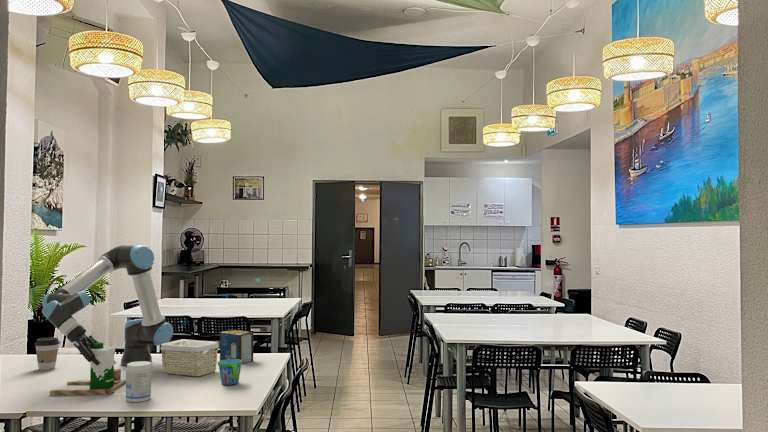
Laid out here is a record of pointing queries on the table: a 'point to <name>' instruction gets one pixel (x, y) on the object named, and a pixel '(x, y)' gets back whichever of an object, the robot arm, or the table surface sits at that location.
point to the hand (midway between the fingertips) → (109, 367)
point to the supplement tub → (138, 381)
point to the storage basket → (189, 357)
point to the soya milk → (107, 376)
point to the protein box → (236, 345)
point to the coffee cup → (47, 352)
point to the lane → (86, 392)
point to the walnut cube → (117, 374)
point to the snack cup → (230, 371)
